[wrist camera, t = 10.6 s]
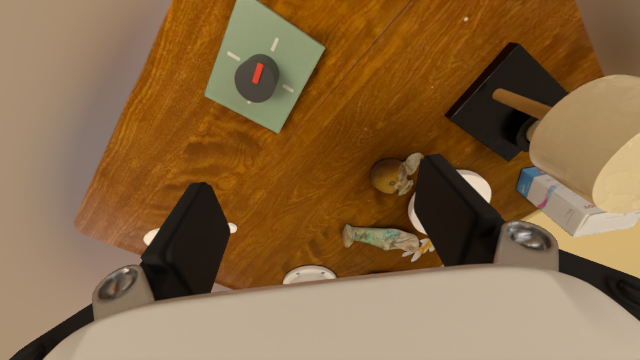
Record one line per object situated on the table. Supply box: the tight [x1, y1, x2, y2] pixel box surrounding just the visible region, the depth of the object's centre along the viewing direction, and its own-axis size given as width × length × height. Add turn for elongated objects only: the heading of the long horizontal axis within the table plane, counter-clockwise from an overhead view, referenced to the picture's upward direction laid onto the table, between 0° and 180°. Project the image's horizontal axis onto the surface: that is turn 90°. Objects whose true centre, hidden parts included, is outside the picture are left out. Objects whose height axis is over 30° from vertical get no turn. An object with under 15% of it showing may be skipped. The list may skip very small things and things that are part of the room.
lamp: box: [493, 75, 640, 213], centre depth 24 cm, size 9×9×18 cm
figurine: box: [342, 224, 419, 252], centre depth 47 cm, size 6×15×4 cm, turn 70°
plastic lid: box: [408, 170, 491, 235], centre depth 44 cm, size 14×14×2 cm
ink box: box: [516, 166, 640, 237], centre depth 38 cm, size 9×5×12 cm, turn 101°
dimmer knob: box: [234, 54, 279, 103], centre depth 26 cm, size 4×4×5 cm
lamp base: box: [445, 42, 568, 161], centre depth 34 cm, size 15×11×4 cm
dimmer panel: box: [204, 0, 325, 133], centre depth 30 cm, size 12×10×3 cm
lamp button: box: [526, 120, 541, 142], centre depth 34 cm, size 4×4×2 cm
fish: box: [402, 238, 435, 262], centre depth 52 cm, size 10×1×5 cm
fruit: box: [370, 153, 424, 196], centre depth 39 cm, size 8×8×4 cm
